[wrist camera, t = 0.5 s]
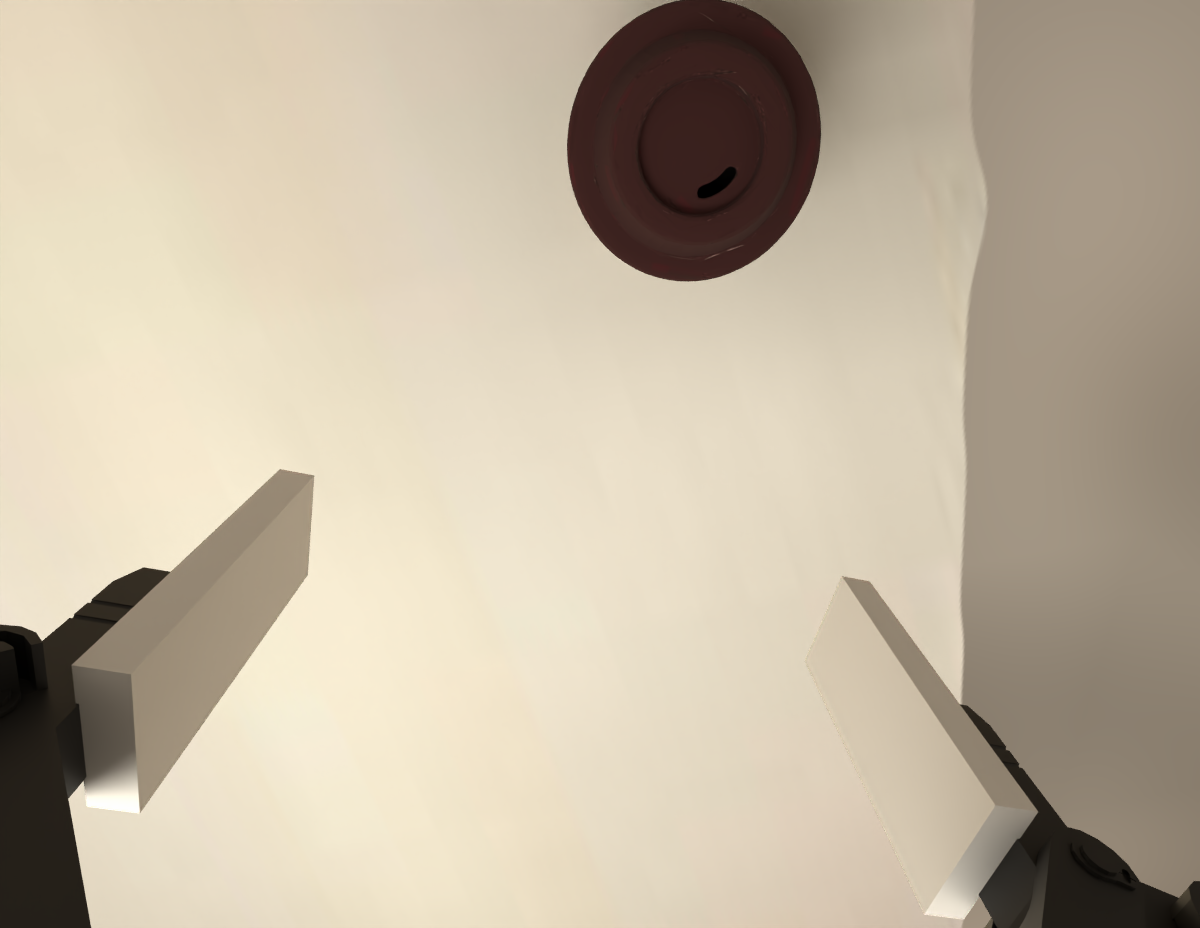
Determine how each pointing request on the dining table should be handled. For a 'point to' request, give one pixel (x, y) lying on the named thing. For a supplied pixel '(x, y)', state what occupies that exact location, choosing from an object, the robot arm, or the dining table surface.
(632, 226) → the coffee cup
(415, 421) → the dining table surface
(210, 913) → the dining table surface
